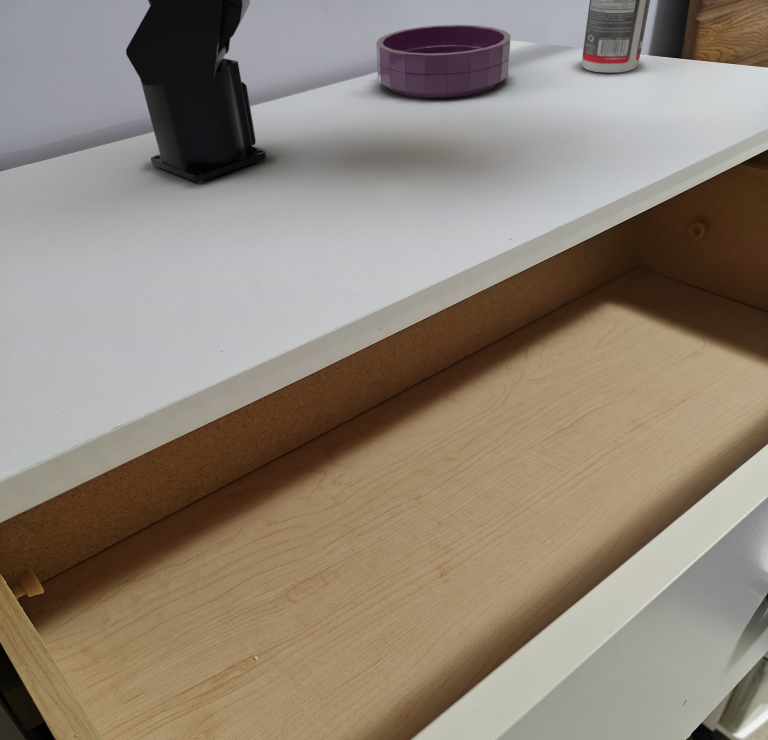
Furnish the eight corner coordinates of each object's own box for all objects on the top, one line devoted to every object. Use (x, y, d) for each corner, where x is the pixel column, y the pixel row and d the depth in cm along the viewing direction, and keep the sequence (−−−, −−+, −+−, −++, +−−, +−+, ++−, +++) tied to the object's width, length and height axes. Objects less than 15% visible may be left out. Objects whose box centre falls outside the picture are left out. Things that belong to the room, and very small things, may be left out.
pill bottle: (604, 57, 68) (624, -70, 61) (649, 65, 65) (675, -68, 58) (569, 68, 66) (585, -63, 59) (614, 77, 63) (637, -60, 56)
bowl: (449, 108, 59) (450, 61, 56) (352, 87, 65) (349, 44, 62) (533, 77, 64) (537, 33, 62) (437, 60, 71) (437, 20, 68)
